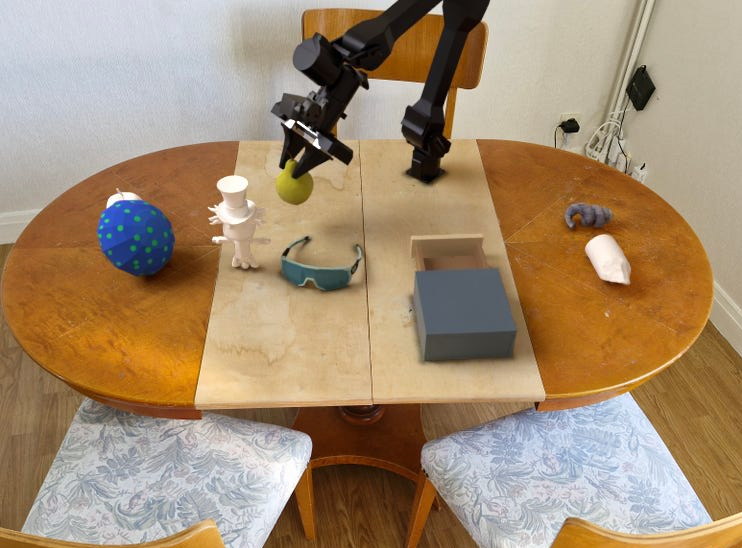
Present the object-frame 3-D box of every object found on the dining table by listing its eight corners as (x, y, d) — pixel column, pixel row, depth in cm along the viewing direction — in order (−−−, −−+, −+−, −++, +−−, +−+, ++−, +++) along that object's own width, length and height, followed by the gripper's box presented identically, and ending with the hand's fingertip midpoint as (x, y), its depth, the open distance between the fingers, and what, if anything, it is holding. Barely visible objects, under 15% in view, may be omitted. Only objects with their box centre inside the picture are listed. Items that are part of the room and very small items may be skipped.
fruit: (297, 186, 135) (292, 130, 126) (321, 201, 132) (319, 145, 123) (270, 201, 131) (264, 145, 122) (295, 216, 129) (290, 160, 120)
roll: (603, 299, 124) (611, 275, 120) (581, 258, 132) (588, 234, 128) (635, 297, 125) (644, 273, 121) (611, 255, 133) (619, 232, 129)
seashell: (561, 232, 140) (608, 231, 141) (571, 224, 135) (620, 224, 136) (559, 206, 140) (607, 206, 141) (569, 198, 135) (618, 197, 136)
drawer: (409, 250, 131) (410, 231, 128) (478, 247, 132) (481, 229, 129) (418, 305, 121) (420, 287, 118) (494, 303, 122) (497, 284, 119)
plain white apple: (125, 210, 139) (114, 176, 134) (155, 218, 138) (146, 183, 132) (104, 230, 135) (92, 195, 129) (136, 238, 133) (125, 203, 128)
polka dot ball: (98, 198, 129) (139, 171, 119) (158, 246, 137) (202, 224, 127) (60, 254, 122) (102, 231, 112) (127, 301, 130) (170, 284, 120)
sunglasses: (272, 284, 125) (271, 260, 122) (298, 244, 136) (297, 222, 133) (347, 297, 123) (348, 273, 120) (367, 256, 134) (368, 233, 131)
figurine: (213, 280, 125) (196, 196, 112) (221, 254, 131) (205, 170, 118) (271, 282, 125) (260, 198, 112) (276, 256, 131) (267, 172, 118)
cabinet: (413, 297, 124) (415, 270, 119) (493, 294, 125) (498, 267, 120) (423, 360, 113) (426, 334, 109) (511, 356, 114) (517, 330, 110)
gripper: (274, 56, 121) (228, 133, 124) (337, 96, 111) (286, 179, 115) (313, 86, 130) (270, 158, 133) (375, 126, 121) (327, 202, 124)
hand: (287, 173), depth 126 cm, fingers closed on fruit, 4 cm apart
